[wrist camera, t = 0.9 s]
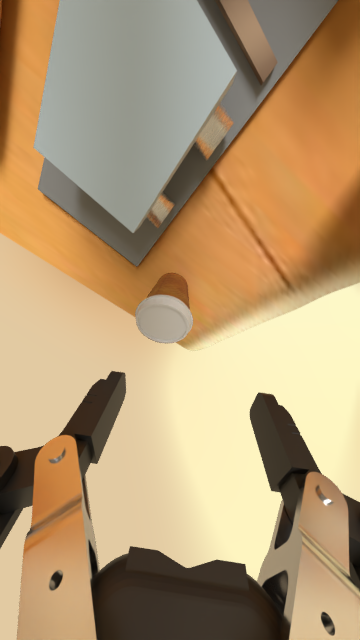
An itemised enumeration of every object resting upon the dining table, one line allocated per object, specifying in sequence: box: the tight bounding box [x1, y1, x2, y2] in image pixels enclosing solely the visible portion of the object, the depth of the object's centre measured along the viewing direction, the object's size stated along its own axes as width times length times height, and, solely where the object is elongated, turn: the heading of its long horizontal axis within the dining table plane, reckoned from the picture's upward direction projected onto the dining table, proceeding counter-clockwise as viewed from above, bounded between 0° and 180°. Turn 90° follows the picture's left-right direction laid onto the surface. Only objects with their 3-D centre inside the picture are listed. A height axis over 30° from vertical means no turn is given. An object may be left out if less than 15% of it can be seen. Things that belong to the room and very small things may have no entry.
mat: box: [38, 0, 338, 267], centre depth 20 cm, size 18×38×1 cm, turn 139°
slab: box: [34, 0, 237, 233], centre depth 17 cm, size 12×16×3 cm
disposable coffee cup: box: [135, 273, 193, 343], centre depth 32 cm, size 10×10×12 cm
